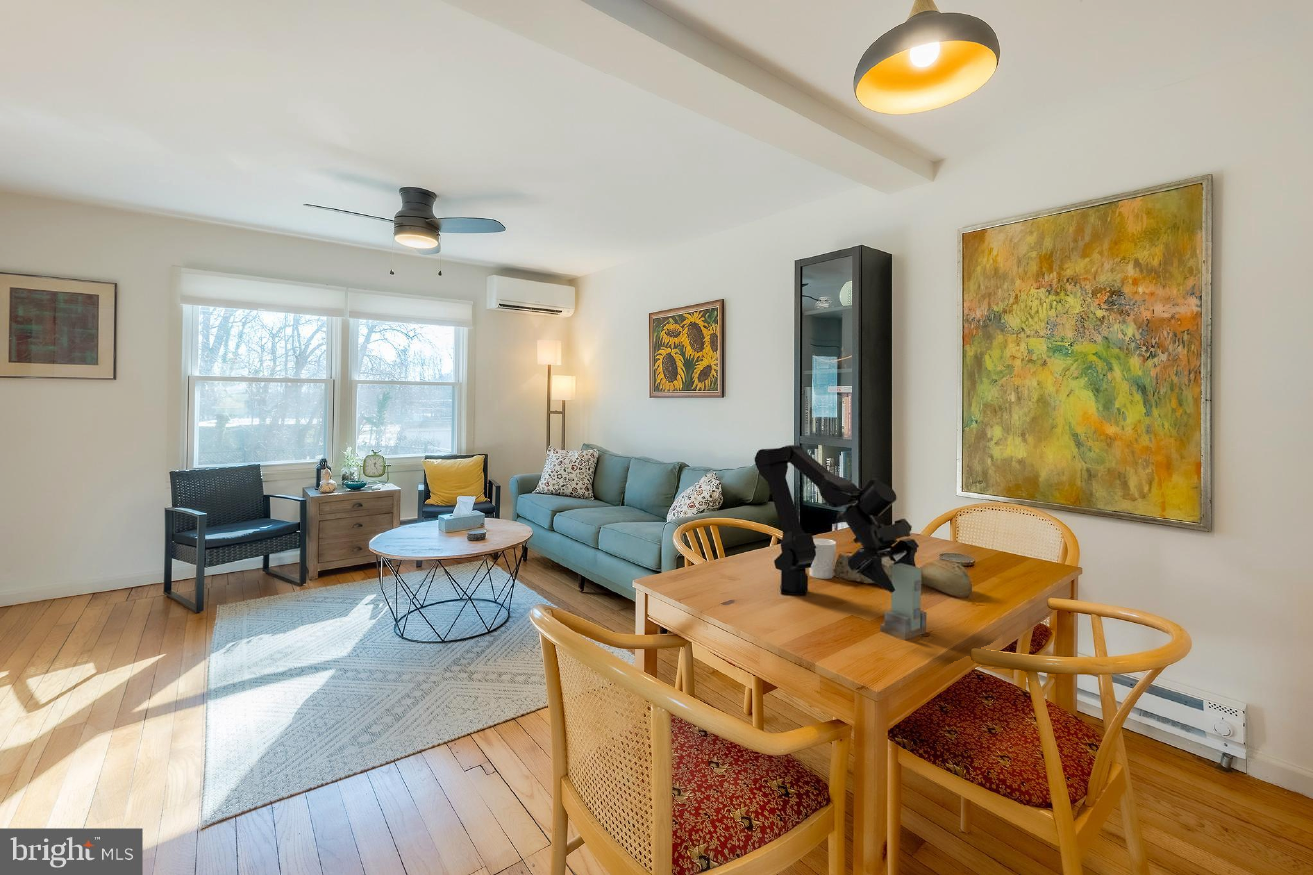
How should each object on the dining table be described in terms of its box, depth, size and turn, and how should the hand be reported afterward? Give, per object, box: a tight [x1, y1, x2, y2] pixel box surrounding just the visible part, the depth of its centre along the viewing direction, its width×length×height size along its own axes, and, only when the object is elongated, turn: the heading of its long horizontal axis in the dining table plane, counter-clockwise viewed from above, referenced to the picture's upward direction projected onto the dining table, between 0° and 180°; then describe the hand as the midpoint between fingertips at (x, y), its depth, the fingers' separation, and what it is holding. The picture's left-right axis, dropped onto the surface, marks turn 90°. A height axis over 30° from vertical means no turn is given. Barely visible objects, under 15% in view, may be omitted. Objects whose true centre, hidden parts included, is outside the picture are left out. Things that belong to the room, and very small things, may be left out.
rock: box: [834, 553, 895, 584], centre depth 163 cm, size 21×14×10 cm
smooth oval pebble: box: [919, 558, 973, 599], centre depth 154 cm, size 10×15×8 cm, turn 26°
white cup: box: [808, 538, 837, 580], centre depth 167 cm, size 8×8×10 cm
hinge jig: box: [879, 610, 928, 641], centre depth 126 cm, size 6×8×4 cm
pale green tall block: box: [890, 563, 922, 631], centre depth 125 cm, size 5×3×13 cm, turn 33°
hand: (906, 587), depth 125 cm, fingers open, 9 cm apart
